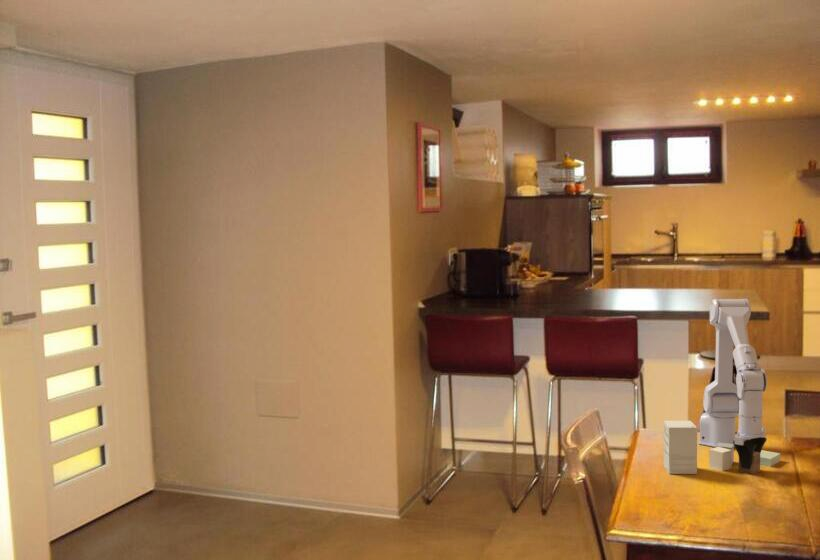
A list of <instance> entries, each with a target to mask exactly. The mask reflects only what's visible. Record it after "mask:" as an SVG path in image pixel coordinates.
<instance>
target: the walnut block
mask: <svg viewBox="0 0 820 560" xmlns="http://www.w3.org/2000/svg"><path fill="white" fill-rule="evenodd" d="M760 471H761V465H760V452H754V453H753V456H752V463H751V467H750V469H746V468H742V467H741V464H740V459H739V458H738V472H739V473H744V474H748V475H752V476H753V475H756V474H758V473H759V472H760Z"/></svg>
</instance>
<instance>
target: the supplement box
mask: <svg viewBox="0 0 820 560" xmlns="http://www.w3.org/2000/svg"><path fill="white" fill-rule="evenodd" d="M663 466H664V469H665V470H666V472H667V473H668V474H669V475H697V474H698V427H697V426H696V425H695V424H694V422H692V420H663Z"/></svg>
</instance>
